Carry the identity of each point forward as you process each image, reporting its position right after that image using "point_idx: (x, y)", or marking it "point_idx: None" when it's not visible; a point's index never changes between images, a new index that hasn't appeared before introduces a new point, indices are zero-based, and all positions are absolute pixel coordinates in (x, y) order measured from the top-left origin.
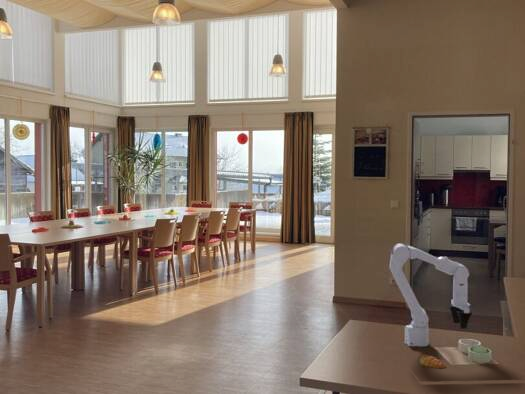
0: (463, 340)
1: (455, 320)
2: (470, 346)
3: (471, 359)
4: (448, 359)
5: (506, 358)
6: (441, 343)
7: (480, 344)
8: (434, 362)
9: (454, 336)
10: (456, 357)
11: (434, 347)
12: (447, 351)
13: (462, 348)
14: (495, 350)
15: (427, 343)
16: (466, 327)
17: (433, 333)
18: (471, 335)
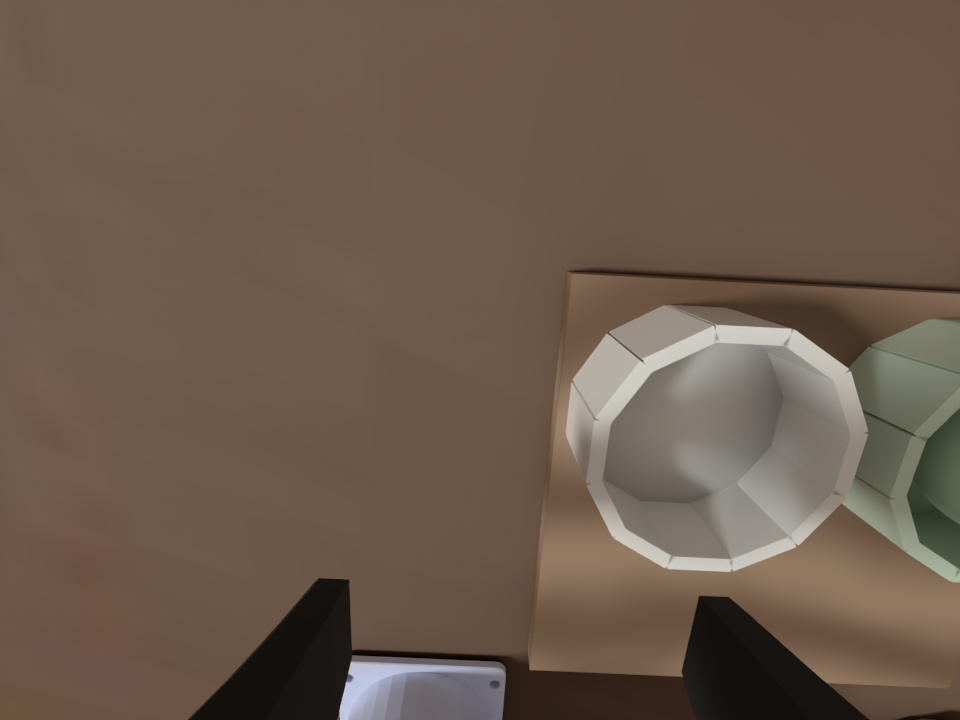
0: (600, 478)
1: (335, 695)
2: (832, 494)
3: (943, 520)
4: (837, 668)
5: (925, 72)
6: (364, 539)
7: (813, 346)
8: None
9: (122, 329)
10: (817, 598)
11: (534, 668)
12: (654, 610)
13: (726, 523)
14: (645, 61)
15: (474, 717)
16: (741, 608)
17: (45, 500)
18: (48, 90)
